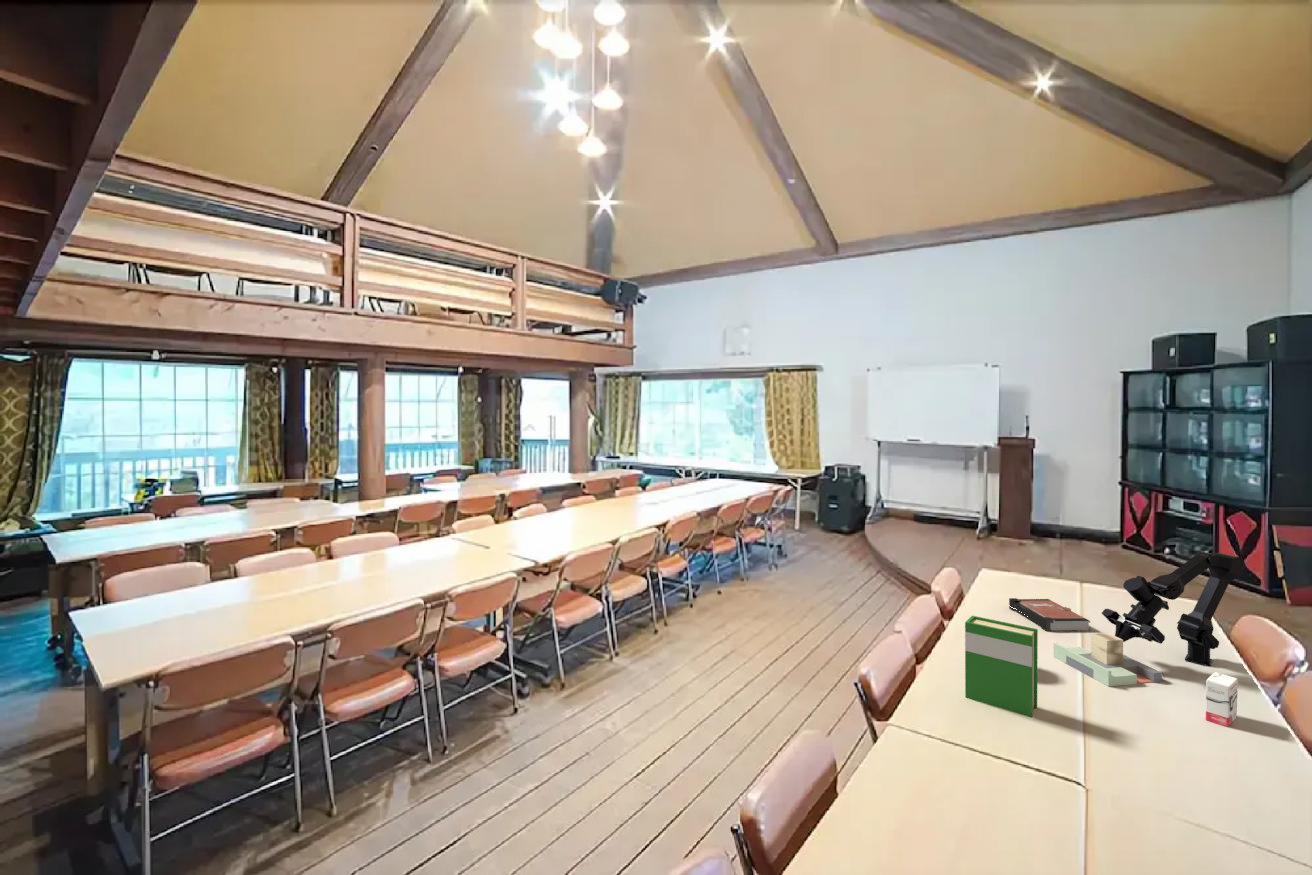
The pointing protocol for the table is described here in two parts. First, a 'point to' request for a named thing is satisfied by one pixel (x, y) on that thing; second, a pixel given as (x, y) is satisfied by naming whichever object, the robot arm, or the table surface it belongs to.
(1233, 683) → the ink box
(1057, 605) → the book
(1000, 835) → the table surface
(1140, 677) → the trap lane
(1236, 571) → the robot arm
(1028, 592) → the table surface
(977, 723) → the table surface
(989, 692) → the hardback book
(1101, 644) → the beech block
